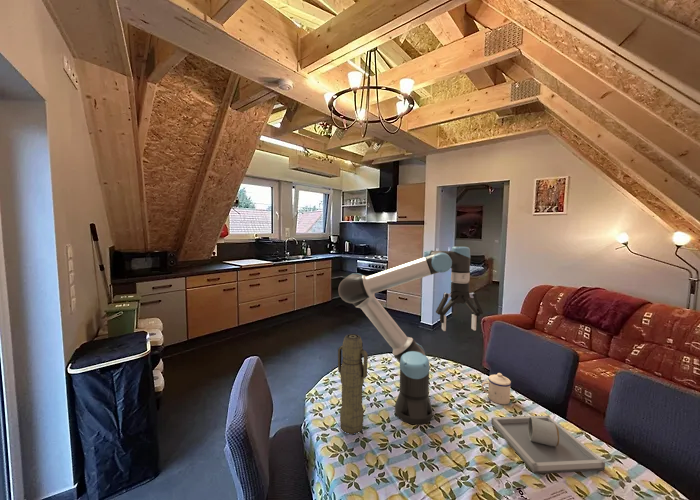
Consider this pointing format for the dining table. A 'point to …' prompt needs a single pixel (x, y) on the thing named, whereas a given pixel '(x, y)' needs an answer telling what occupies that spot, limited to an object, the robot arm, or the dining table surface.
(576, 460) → the drying tray
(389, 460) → the dining table surface
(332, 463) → the dining table surface
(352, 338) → the thermos
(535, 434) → the ceramic mug
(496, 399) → the teacup with lid
